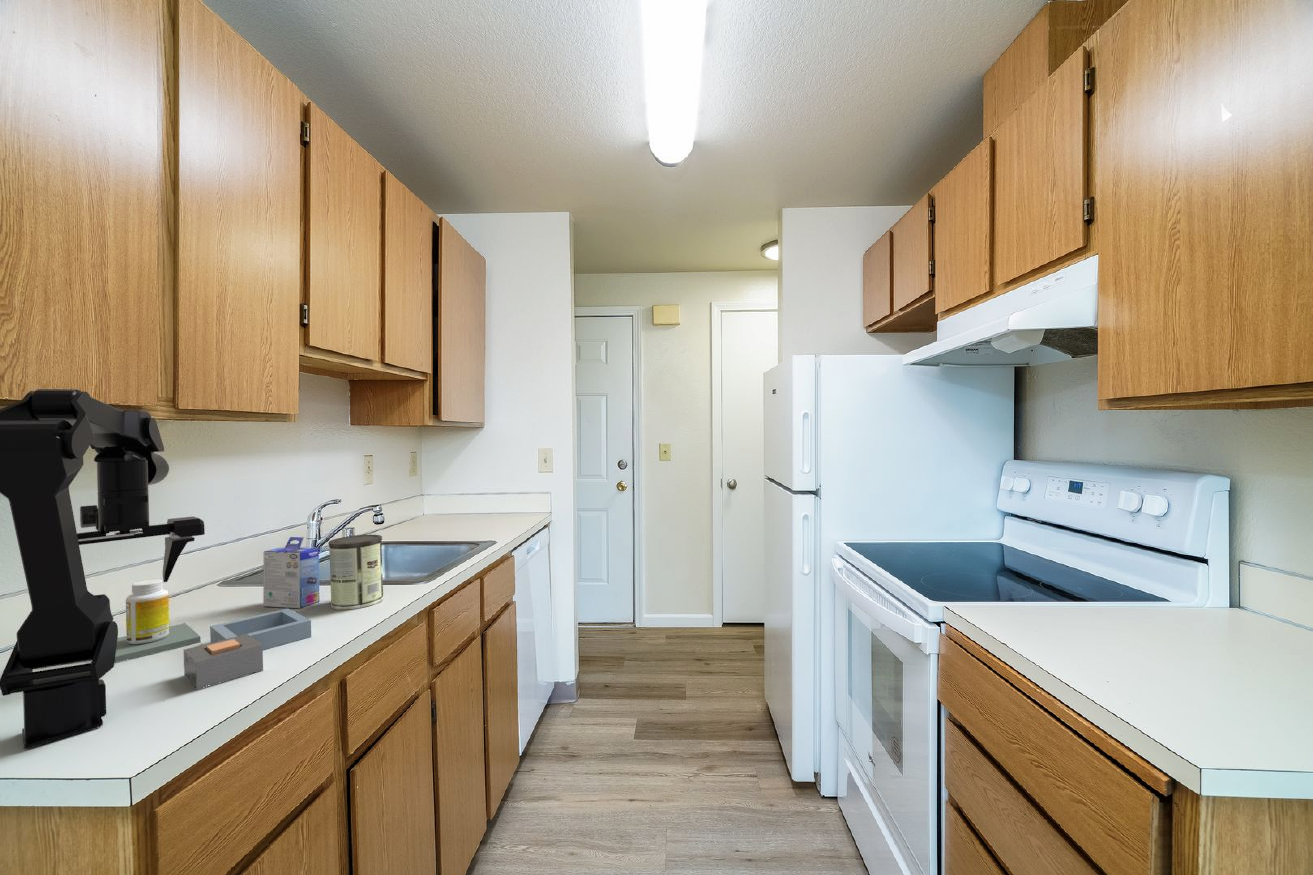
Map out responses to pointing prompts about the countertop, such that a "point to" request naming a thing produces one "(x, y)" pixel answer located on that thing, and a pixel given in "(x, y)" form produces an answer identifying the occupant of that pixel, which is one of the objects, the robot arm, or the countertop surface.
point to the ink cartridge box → (291, 575)
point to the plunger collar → (222, 662)
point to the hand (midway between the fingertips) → (126, 588)
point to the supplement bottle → (147, 612)
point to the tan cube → (222, 646)
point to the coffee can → (356, 571)
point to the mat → (157, 643)
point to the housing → (266, 628)
